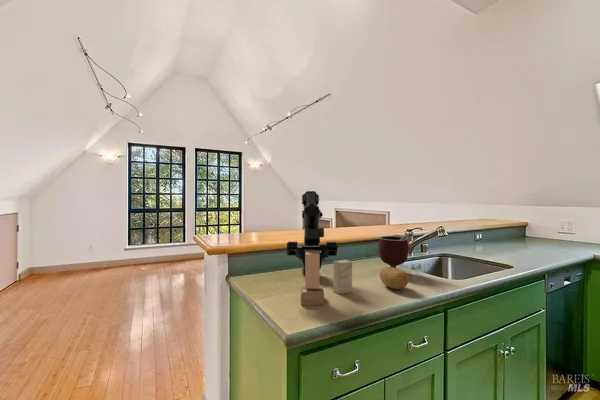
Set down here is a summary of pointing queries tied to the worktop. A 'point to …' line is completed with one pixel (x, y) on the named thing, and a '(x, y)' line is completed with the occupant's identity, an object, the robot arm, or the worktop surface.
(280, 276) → the worktop surface
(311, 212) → the robot arm
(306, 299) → the plinth
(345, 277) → the skincare box
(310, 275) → the block
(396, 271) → the potato
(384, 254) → the mate gourd
